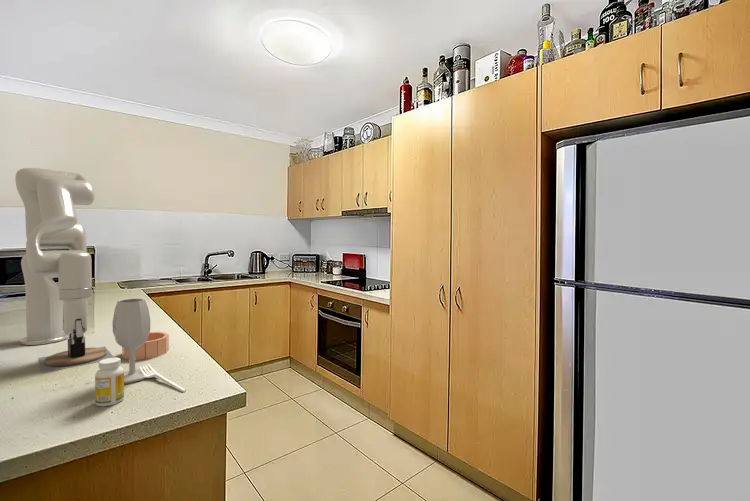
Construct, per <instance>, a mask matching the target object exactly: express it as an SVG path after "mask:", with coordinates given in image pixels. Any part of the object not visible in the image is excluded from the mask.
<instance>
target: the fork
mask: <svg viewBox="0 0 750 501" xmlns="http://www.w3.org/2000/svg"><path fill="white" fill-rule="evenodd" d="M138 368H139V369H140V370H141V373H142V374H143V375H144V376H145V379H149V378H153V377H154V378H156V379H158V380H159V381H161V382H163V383H165V384H167V385H169V386H171V387H172V388H174V389H176V390H177V391H180V392H181V393H185V392H187V391H186V388H184V387H182V386H181V385H180V384H177V383H176V382H174V381H172V380H170V379H168V378H166V377H165V376H163V375H161V374H160V372H157V371H156V370H155V369H154V368H153V367H152V366H151V364H150V363H147V365H146V364H144V365H142V367H141V365H139V367H138ZM142 369H144V371H145V372H146V373H147V374H148V375H147V374H146V373H145V372H144V371H143V370H142ZM146 369H147V370H148V371H147V370H146Z"/></svg>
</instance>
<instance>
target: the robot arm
mask: <svg viewBox="0 0 750 501" xmlns="http://www.w3.org/2000/svg"><path fill="white" fill-rule="evenodd" d="M14 179H15V181H14V182H15V187H16V189H17V193H18V195H19V197H20V199H21V201H22V203H23V206H24V210H25V213H24V214H25V215H24V216H25V236H26V241H25V254H24V255H23V256H22V258H21V261H20V265H21V270H22V274H23V280H24V287H25V317H26V318H25V319H26V320H25V324H26V325H25V327H26V330H25V331H26V336H25V337H23V338H21V339H20V344H21V345H25V346H35V345H36V346H37V345H39V346H40V345H45V344H46V345H47V344H53V343H57V342H61V341H64V340H66V339H70V338H71V341H72V344H70V354H71V358H75V357H81V356H84V355H85V348H86V341H85V342H84V337H85V334H84V333H86V332H87V331H88V315H89V313H88V300H90V299H92V298H93V286H92V285H93V276H92V274H93V273H92V272H93V271H92V270H93V269H92V255H91V254H90V253H88V251H87V250H88V249H87V234H86V229H85V227H84V225H83V224H81V223H80V222H78V215H77V213H76V206H90V205H92V204H93V203H94V201H95V198H96V197H95V196H96V194H95V189H94V187H93V185H92V183H91V182H90V181H89V180H88V179H87V178H85V177H84V175H82V174H80V173H77V172H70V171H63V170H62V171H61V170H56V169H54V170H53V169H47V168H46V169H45V168H38V167H25V168H24V167H23V168H20V169H18V170H17V171H16V173H15V178H14ZM75 205H76V206H75ZM41 248H68V249H69V250H66V249H65V250H64V249H63V250H41ZM54 278H56V279H57V278H58V282H55V281H54V280H53V279H54Z"/></svg>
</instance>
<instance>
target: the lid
mask: <svg viewBox="0 0 750 501" xmlns="http://www.w3.org/2000/svg"><path fill="white" fill-rule="evenodd" d="M84 342H85V343H86V336H84ZM70 344H72V341H71V338H70V339H69V338H67V350H64V351H61V352H56V353H54V354H51V355H48V356H49V357H47V356H46V357H47V358H46V359H45V365H46V366H50V367H67V366H75V365H81V364H85V363H89V362H93V361H96V360H99V359H101V358H103V357H104V356H106V350H105V349H103V348H99V347H85V355H84V356H81V357H75V358H71V354H70Z"/></svg>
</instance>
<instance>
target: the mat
mask: <svg viewBox="0 0 750 501" xmlns="http://www.w3.org/2000/svg"><path fill="white" fill-rule="evenodd" d="M98 348H103V349H105V350H106V356H104V357H103V358H101V359H99V360H96V361H93V362H89V363H85V364H81V365H75V366H67V367H50V366H46V365H45V359H46V358H47V357H49V356H50V355H47V356H42V357H38V363H39V367H40V372H41V374H46V373H50V372H55V371H61V370H66V369H67V370H68V369H71V368H76V367H82V366H86V365H92V364H96V363H98V364H99V362H100V361H101V360H103V359H107V358H115V357H114V355H112V353H111V352H110V351H109V349H108V348H107V347H106V346H100V347H98Z"/></svg>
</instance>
